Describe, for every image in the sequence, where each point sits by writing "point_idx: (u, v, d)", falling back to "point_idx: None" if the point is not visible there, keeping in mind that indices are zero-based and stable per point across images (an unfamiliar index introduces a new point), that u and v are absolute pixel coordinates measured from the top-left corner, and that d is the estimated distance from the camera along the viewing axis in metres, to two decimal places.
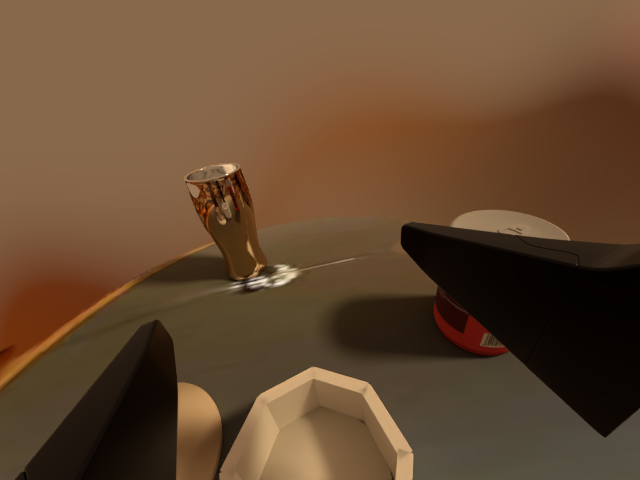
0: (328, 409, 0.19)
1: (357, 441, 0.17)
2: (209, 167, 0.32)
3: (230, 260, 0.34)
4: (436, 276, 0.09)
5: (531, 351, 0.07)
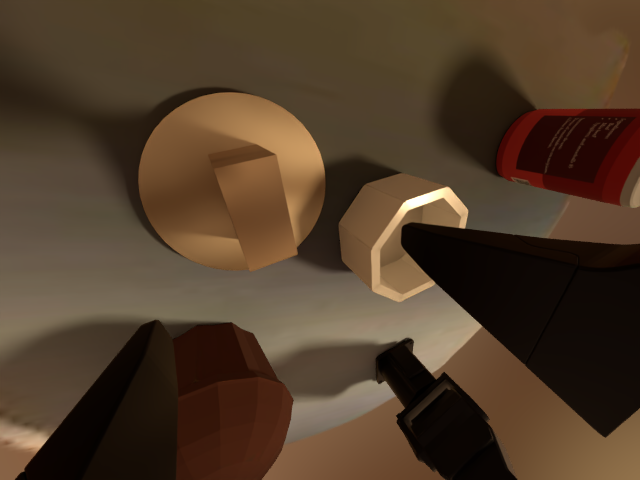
0: None
1: (414, 212, 0.24)
2: None
3: None
4: (436, 276, 0.09)
5: (531, 351, 0.07)
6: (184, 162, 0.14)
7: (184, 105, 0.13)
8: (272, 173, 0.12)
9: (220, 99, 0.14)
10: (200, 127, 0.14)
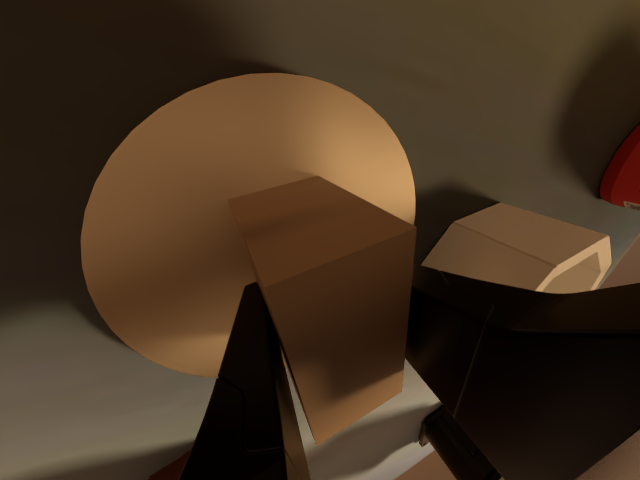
0: None
1: None
2: None
3: None
4: None
5: (457, 404, 0.06)
6: (181, 218, 0.07)
7: (180, 100, 0.06)
8: (398, 269, 0.05)
9: (257, 87, 0.06)
10: (214, 147, 0.07)
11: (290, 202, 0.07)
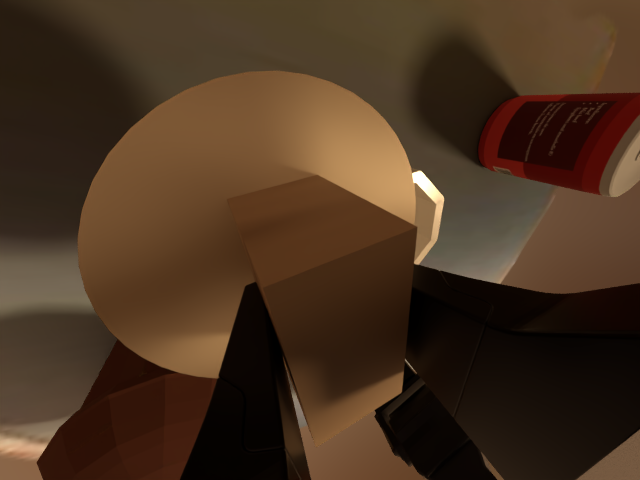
0: None
1: None
2: None
3: None
4: None
5: (457, 405, 0.06)
6: (179, 218, 0.07)
7: (178, 98, 0.06)
8: (398, 269, 0.05)
9: (256, 85, 0.06)
10: (213, 146, 0.07)
11: (289, 201, 0.06)
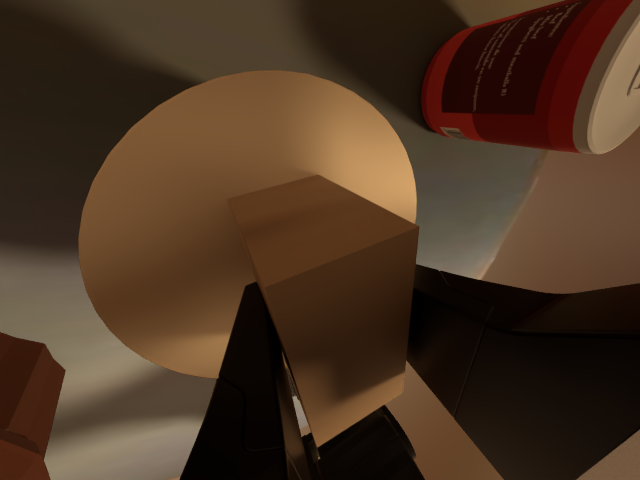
0: None
1: None
2: None
3: None
4: None
5: (457, 405, 0.06)
6: (180, 218, 0.07)
7: (179, 98, 0.06)
8: (399, 269, 0.05)
9: (257, 85, 0.06)
10: (213, 146, 0.07)
11: (290, 201, 0.06)
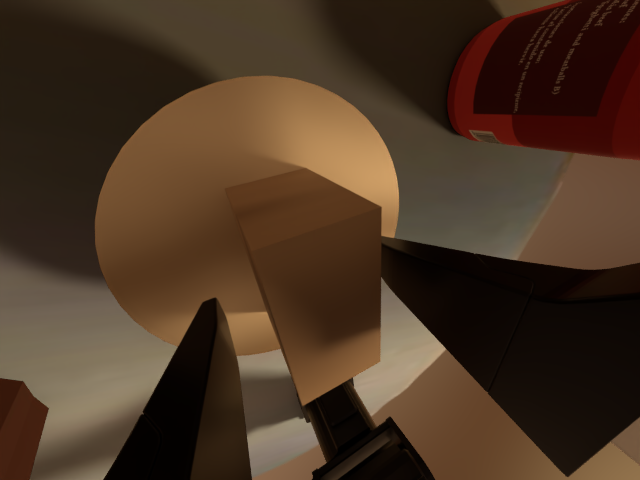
0: None
1: None
2: None
3: None
4: (400, 293, 0.08)
5: (492, 380, 0.07)
6: (182, 204, 0.08)
7: (182, 99, 0.07)
8: (367, 243, 0.06)
9: (250, 88, 0.07)
10: (212, 141, 0.07)
11: (279, 189, 0.07)
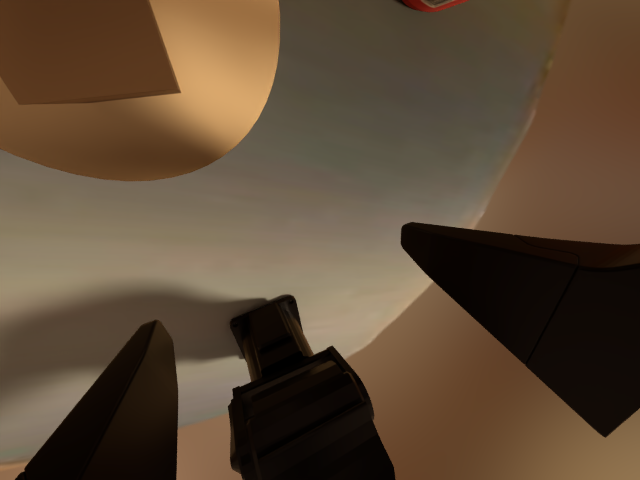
0: None
1: None
2: None
3: None
4: (436, 276, 0.09)
5: (530, 351, 0.07)
6: None
7: None
8: None
9: None
10: None
11: None
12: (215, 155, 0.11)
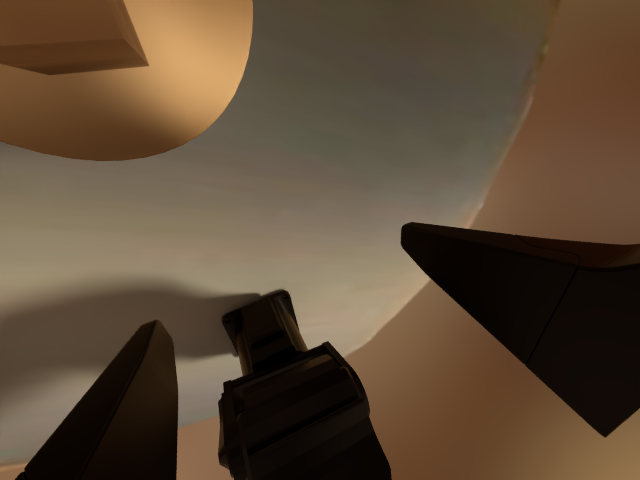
0: None
1: None
2: None
3: None
4: (436, 276, 0.09)
5: (530, 351, 0.07)
6: None
7: None
8: None
9: None
10: None
11: None
12: (190, 134, 0.10)
